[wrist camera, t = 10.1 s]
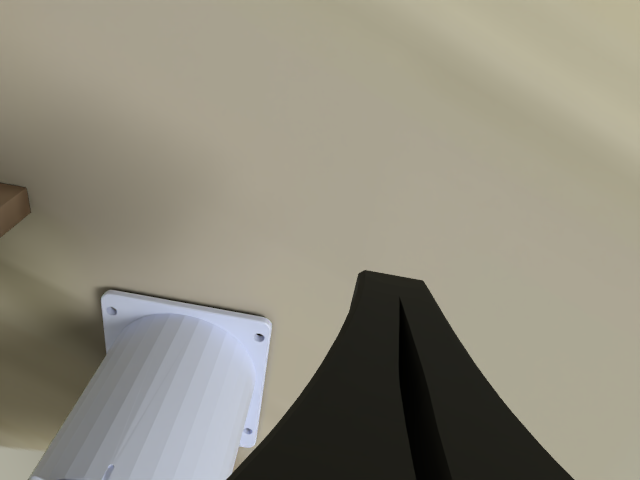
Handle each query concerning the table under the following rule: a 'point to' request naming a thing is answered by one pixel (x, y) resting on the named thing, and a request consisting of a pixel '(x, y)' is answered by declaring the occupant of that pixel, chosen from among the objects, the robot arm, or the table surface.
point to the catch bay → (12, 206)
